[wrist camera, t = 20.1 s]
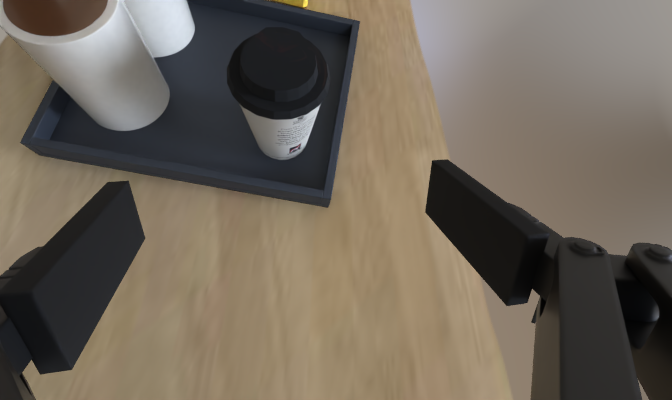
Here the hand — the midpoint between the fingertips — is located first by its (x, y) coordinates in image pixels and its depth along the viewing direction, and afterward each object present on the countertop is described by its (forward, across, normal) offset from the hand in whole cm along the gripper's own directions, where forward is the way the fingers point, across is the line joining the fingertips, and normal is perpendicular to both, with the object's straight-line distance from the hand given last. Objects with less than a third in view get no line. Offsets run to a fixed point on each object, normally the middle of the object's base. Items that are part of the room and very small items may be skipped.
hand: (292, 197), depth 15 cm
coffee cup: (+17, 0, -2) cm, 17 cm away
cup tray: (+22, -6, +2) cm, 22 cm away
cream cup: (+20, -13, +1) cm, 24 cm away
